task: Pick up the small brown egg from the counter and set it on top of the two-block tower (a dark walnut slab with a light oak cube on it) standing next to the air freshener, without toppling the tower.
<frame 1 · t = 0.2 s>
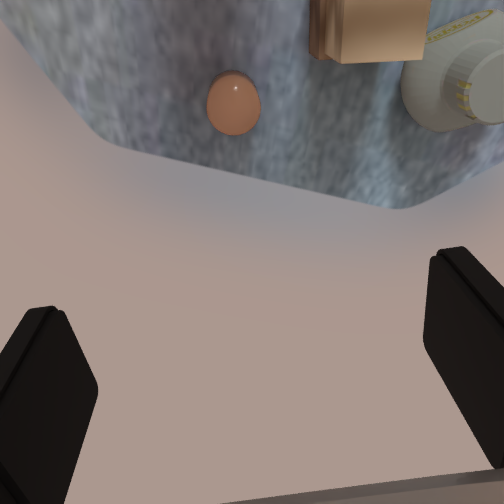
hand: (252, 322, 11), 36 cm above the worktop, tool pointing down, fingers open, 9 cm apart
air freshener: (445, 68, 43), on the worktop
brown egg: (232, 96, 43), on the worktop
base block: (347, 8, 39), on the worktop, touching top block
top block: (363, 11, 35), point 5 cm above the worktop, touching base block
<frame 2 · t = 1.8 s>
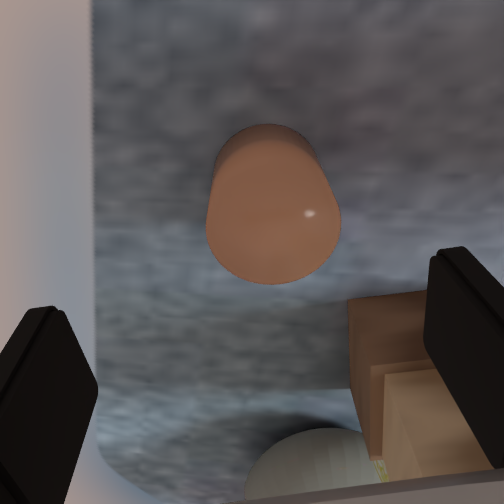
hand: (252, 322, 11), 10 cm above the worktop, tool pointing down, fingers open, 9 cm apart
air freshener: (319, 453, 31), on the worktop
brown egg: (266, 177, 20), on the worktop
base block: (409, 338, 25), on the worktop
top block: (446, 411, 21), point 5 cm above the worktop
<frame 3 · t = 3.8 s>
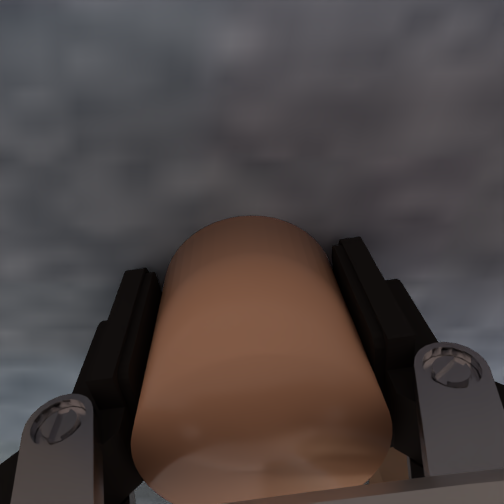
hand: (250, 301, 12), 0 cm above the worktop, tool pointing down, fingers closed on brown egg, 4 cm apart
brown egg: (249, 291, 12), on the worktop, touching gripper
base block: (452, 477, 18), on the worktop, touching top block
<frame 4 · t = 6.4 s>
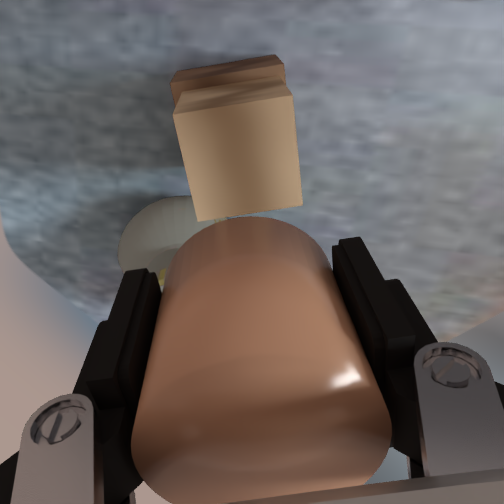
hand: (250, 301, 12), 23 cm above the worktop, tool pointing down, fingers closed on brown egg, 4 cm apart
air freshener: (190, 241, 38), on the worktop
brown egg: (249, 292, 12), point 23 cm above the worktop, touching gripper
base block: (234, 112, 32), on the worktop, touching top block
top block: (238, 132, 28), point 5 cm above the worktop, touching base block
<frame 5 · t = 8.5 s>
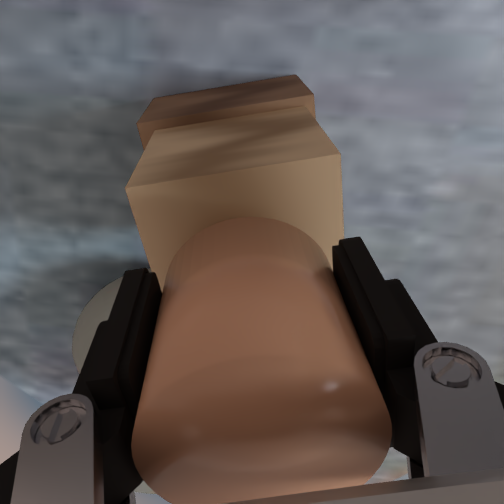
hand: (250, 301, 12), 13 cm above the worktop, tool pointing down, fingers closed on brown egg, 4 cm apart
air freshener: (175, 316, 28), on the worktop
brown egg: (249, 292, 12), point 12 cm above the worktop, touching gripper
base block: (236, 154, 23), on the worktop, touching top block
top block: (241, 188, 19), point 5 cm above the worktop, touching base block
when the fingers open (13 cm above the worktop, at t = 9.2 s): brown egg drops 1 cm, resting on top block.
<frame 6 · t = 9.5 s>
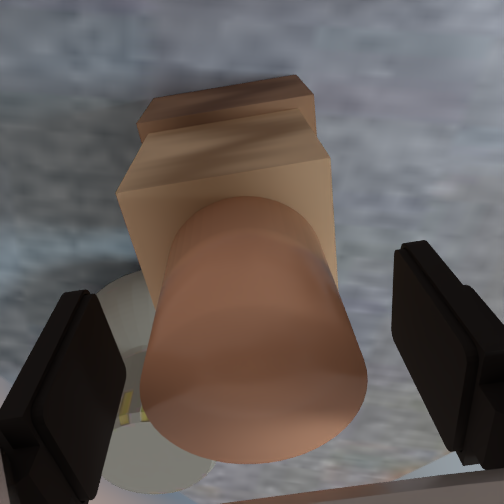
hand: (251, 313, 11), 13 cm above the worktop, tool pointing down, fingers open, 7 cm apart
air freshener: (175, 316, 28), on the worktop
brown egg: (246, 267, 13), point 11 cm above the worktop, touching top block
base block: (236, 154, 23), on the worktop, touching top block
top block: (235, 190, 19), point 5 cm above the worktop, touching base block, brown egg
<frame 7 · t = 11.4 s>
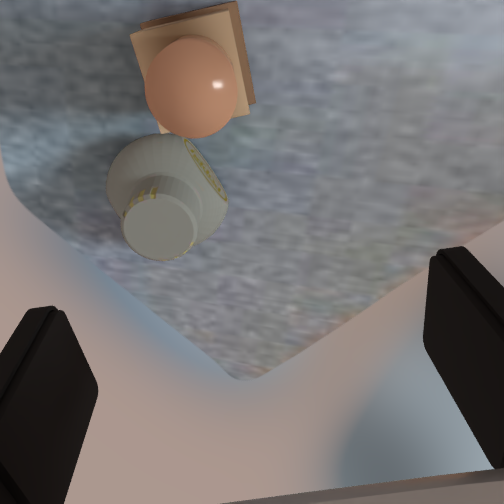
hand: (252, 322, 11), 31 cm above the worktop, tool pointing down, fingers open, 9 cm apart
air freshener: (172, 181, 42), on the worktop
brown egg: (196, 77, 27), point 11 cm above the worktop, touching top block
base block: (203, 57, 36), on the worktop, touching top block
top block: (197, 63, 32), point 5 cm above the worktop, touching base block, brown egg
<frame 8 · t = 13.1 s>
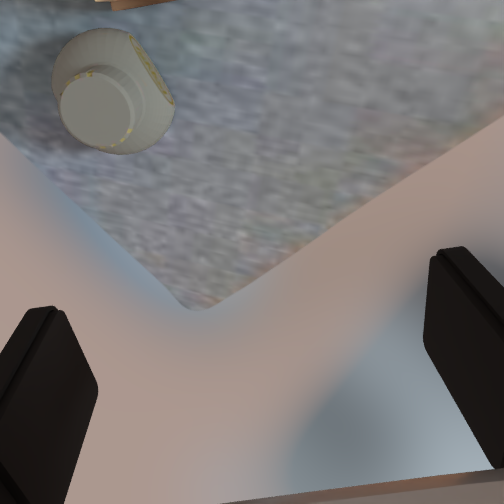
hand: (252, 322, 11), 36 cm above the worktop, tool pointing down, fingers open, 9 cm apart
air freshener: (122, 88, 42), on the worktop
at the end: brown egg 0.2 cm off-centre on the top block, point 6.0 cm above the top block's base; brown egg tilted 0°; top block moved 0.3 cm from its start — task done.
